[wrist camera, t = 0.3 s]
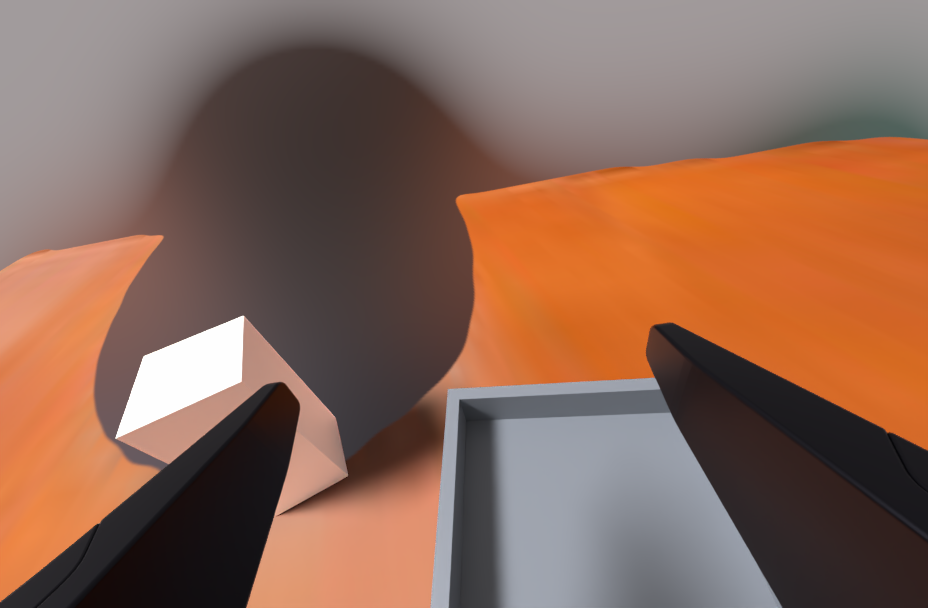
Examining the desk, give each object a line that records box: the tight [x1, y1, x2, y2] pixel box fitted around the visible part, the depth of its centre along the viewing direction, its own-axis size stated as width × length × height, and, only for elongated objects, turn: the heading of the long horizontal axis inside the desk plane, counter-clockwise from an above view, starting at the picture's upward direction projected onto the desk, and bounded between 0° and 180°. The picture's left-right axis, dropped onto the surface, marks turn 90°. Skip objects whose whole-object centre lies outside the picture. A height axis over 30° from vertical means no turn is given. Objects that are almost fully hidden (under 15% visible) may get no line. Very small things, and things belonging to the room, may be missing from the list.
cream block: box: [116, 316, 348, 516], centre depth 20 cm, size 5×5×12 cm
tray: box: [431, 378, 782, 608], centre depth 16 cm, size 18×16×4 cm
